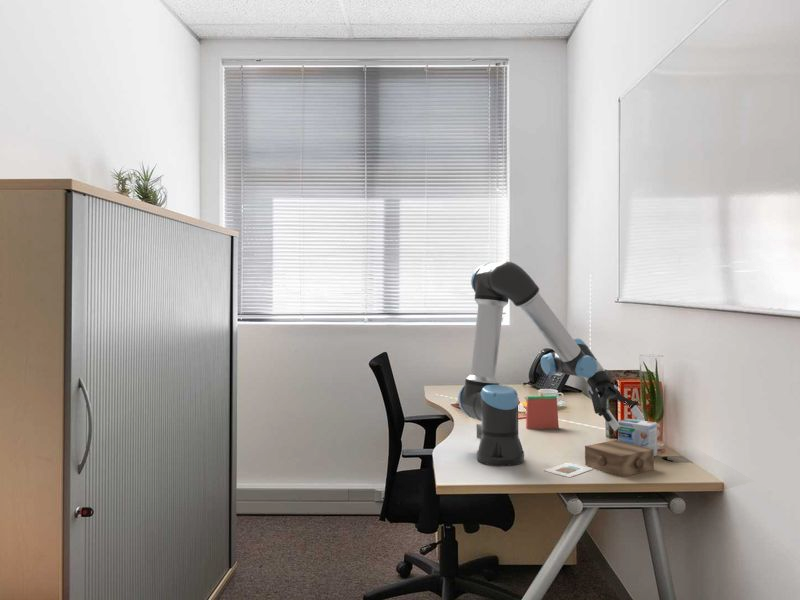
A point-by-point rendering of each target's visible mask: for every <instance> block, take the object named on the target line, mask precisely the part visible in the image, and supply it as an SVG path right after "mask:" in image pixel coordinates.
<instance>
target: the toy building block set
mask: <svg viewBox="0 0 800 600" xmlns="http://www.w3.org/2000/svg"><path fill="white" fill-rule="evenodd" d="M557 397H558V396H557V395H544V394H543V392H541V393H540V395H526V396H525V397H524V399H525V401H520V399H519V397H518V401H519V404H518V405H519V406H520V404H522V405H523V409H524V408H525V409H526V411H527V414H525V416H526V421H525V428H526V430H540V429H541V430H542V429H544V428H559V414H558V413H559V411H558V399H557Z"/></svg>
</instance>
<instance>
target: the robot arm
mask: <svg viewBox="0 0 800 600" xmlns="http://www.w3.org/2000/svg"><path fill="white" fill-rule="evenodd" d="M470 283H471V287H472V289H473V291H474V301H475V303H476V304H477V306H478V307H477V315H476V323H475V332H474V341H473V351H472V359H471V366H470V367H471V368H470V374H469V375H468V376H466V377H465V383H464V384H463V387H461V388H460V390H459V392H458V395H457V401H458V405H459V408H460V409H461V411H462V412H463V413H464V414H465V415H467V416H468V417H469V418H472V419H475V420H478V421H480V422H481V424H482V438H481V439H480V442H479V445H478V449H477V451H476V460H477V461H478V462H479V463H482V464H484V465H488V466H497V467H507V466H508V467H509V466H517V465H520V464H523V463H524V462H525V452H524V448H523V446H522V443H521V440H520V437H519V435H520V434H519V412H518V404H519V401H520V400H519V401H518V398H519V395H518V392H517V390H516V389H515V388H513V387H511V386H508V385H502V384H500V381H499V380H498V378H497V375H496V374H497V365H498V358H499V357H498V356H499V350H500V349H499V348H500V347H499V346H500V340H501V331H502V320H503V312H504V307H506V306H507V305H508V304H509V300H510V301H511V302H512V304H513V305H514V306H515V307H519V308H520V309H521V310H522V311H523V313H524V314H525V315H526V316H527V318H528V319H529V320H530V321H531V323H532V324H533V325H534V326H535V328H536V329H537V330H538V332H539V333H540V334H541V336H542V337H543V338H544V339H545V341H546V342H547V344H549V346H550V347H551V349H552V350H553V352H549V353H547V354H544V355H542V357H540V367H541V369H542V371H543V373H544V374H545V375H547V376H552V375H556V374H563V375H568V376H569V375H570V376H573V377H577V378H581V379H582V378H584V380H585V381H586V383H587V385H588V386H589V388H590V389H588V394H589V395H590V397H591V402H592V406H593V407H592V408H593V410H594V411H593V412H594V413H595V414H596V415H598V416H600V417H603V418H604V420H605V421H606V422H607V423H608V424H609V426H610V427H611V429H612V430H613V432H617V431H618V428H619V427H620V425H619V423H618V420H617V419H616V418H615V417H614V414H613V413H612V412H611V410H610V409H608V410H607V407H608V406H607V404H608V403H607V402H608V400H609V399H610V400H612V399H613V400H617V402H620V403H621V402H624V403H626V402H627V403H628V404H629V407H630V405H631V404H633V405H632V406H631V407H630V408H629V407H628V408H629V409H630V412H631V413H632V414H633V416H634V417H635V420H642V421H645V419H644V416H645V415H644V414H643V411H642V410H641V409H640V408H639V406H638V405H639V404H640V403H638V401H639V400H638V401H637V402H634V401H632V400H629V399H627V398H625V397H623V396H622V395H621V394H620V392H619V391H618V382H617V383H616V384H612V382H611V377H610V376H609V374H608V373H607V372H606V371H605V368H604V367H603V366H602V365H601V363H600V362H599V360H598V359H597V358H596V356H595V355H594V354H593V352H592V350H591V349H590V347H589V346H588V345H587V344H586V343H585V342H584V341H583V340H582V339H581V338H573V337H572V335H571V334H570V333H569V331H568V329H566V327H565V325H563V324H562V322H561V321H560V319H559V318H558V317H557V315H556V314H555V313H554V311H553V310H552V309H551V308H550V306H549V304H547V302H546V301H545V299H544V298H543V297H542V295H541V294H540V287H539V286H538V285H537V283H536V282H535V280H533V278H532V277H531V276H530V275H529V274H528V273H527V272H526V270H524V268H522V267H521V266H519V265H518V264H516V263H515V262H512V261H508V260H507V261H505V260H504V261H497V262H488V263H484V264H480V265H479V266H478V267H477V268H476V269H475V270H474V272H473V273H472V276H471V280H470ZM625 401H626V402H625ZM627 403H626V404H627ZM519 405H520V404H519ZM643 415H644V416H643Z"/></svg>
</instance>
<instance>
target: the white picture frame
mask: <svg viewBox="0 0 800 600" xmlns="http://www.w3.org/2000/svg"><path fill="white" fill-rule="evenodd" d="M592 470H594V468H592V467H589V466H582V465H579V464H575V463H570V462H566V463H562V464H559V465H556V466H554V467H553V466H552V467H550V468H547V469H544V470H543V471H544V472H547V473H551V474H555V475H558V476H561V477H565V478H569V479H570V478H572V477H575V476H578V475H581V474H584V473H586V472H589V471H592Z"/></svg>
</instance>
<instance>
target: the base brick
mask: <svg viewBox="0 0 800 600" xmlns="http://www.w3.org/2000/svg"><path fill="white" fill-rule="evenodd" d="M654 459H655V456H654V449H650V448H646V447H642V446H638V445H634V444H630V443H626V442H623V441H619V440H618V439H615V440H610V441H604V442H599V443H593V444H589V445H585V446H584V463H585V464H584V465H585V467H588V468H592V469H596V470H599V471H601V472H604V473H608V474H612V475H615V476H617V475H618V477H621V478H622V476H623V477H627V476H631V475H637V474H641V473H644V472H649V471H653V470H654V469H655V465H654V463H655V461H654Z"/></svg>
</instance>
